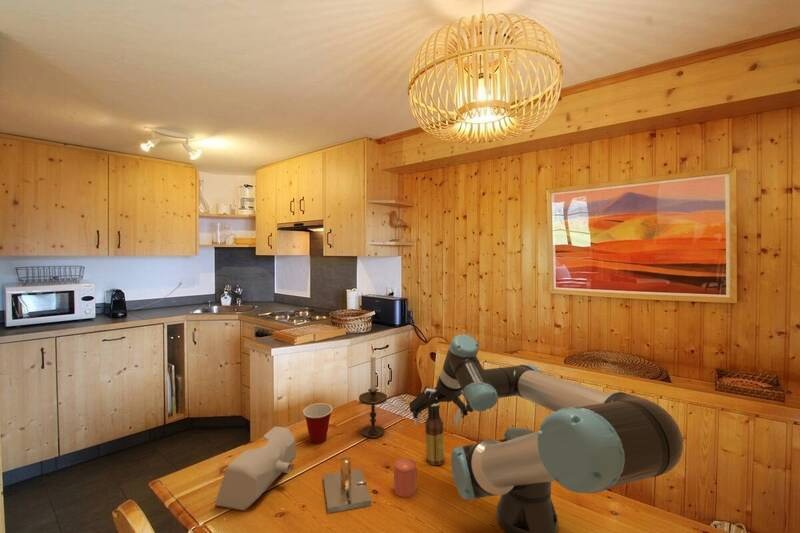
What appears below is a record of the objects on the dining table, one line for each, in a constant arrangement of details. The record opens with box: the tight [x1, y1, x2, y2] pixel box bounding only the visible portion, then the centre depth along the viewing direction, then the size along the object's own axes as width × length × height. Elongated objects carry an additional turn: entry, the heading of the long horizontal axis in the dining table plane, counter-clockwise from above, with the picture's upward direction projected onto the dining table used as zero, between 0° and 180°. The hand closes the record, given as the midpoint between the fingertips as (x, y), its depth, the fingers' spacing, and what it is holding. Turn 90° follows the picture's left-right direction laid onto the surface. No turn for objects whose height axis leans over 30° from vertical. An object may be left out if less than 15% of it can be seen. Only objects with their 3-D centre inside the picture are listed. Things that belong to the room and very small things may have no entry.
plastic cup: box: [302, 402, 333, 445], centre depth 141 cm, size 11×11×12 cm
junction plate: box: [322, 456, 372, 514], centre depth 111 cm, size 16×12×10 cm
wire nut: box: [393, 457, 417, 498], centre depth 112 cm, size 6×6×8 cm
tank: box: [214, 425, 297, 511], centre depth 114 cm, size 25×16×12 cm, turn 167°
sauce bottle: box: [424, 402, 445, 466], centre depth 127 cm, size 6×6×20 cm
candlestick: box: [358, 343, 388, 440], centre depth 146 cm, size 11×11×35 cm
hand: (435, 422), depth 122 cm, fingers open, 13 cm apart
